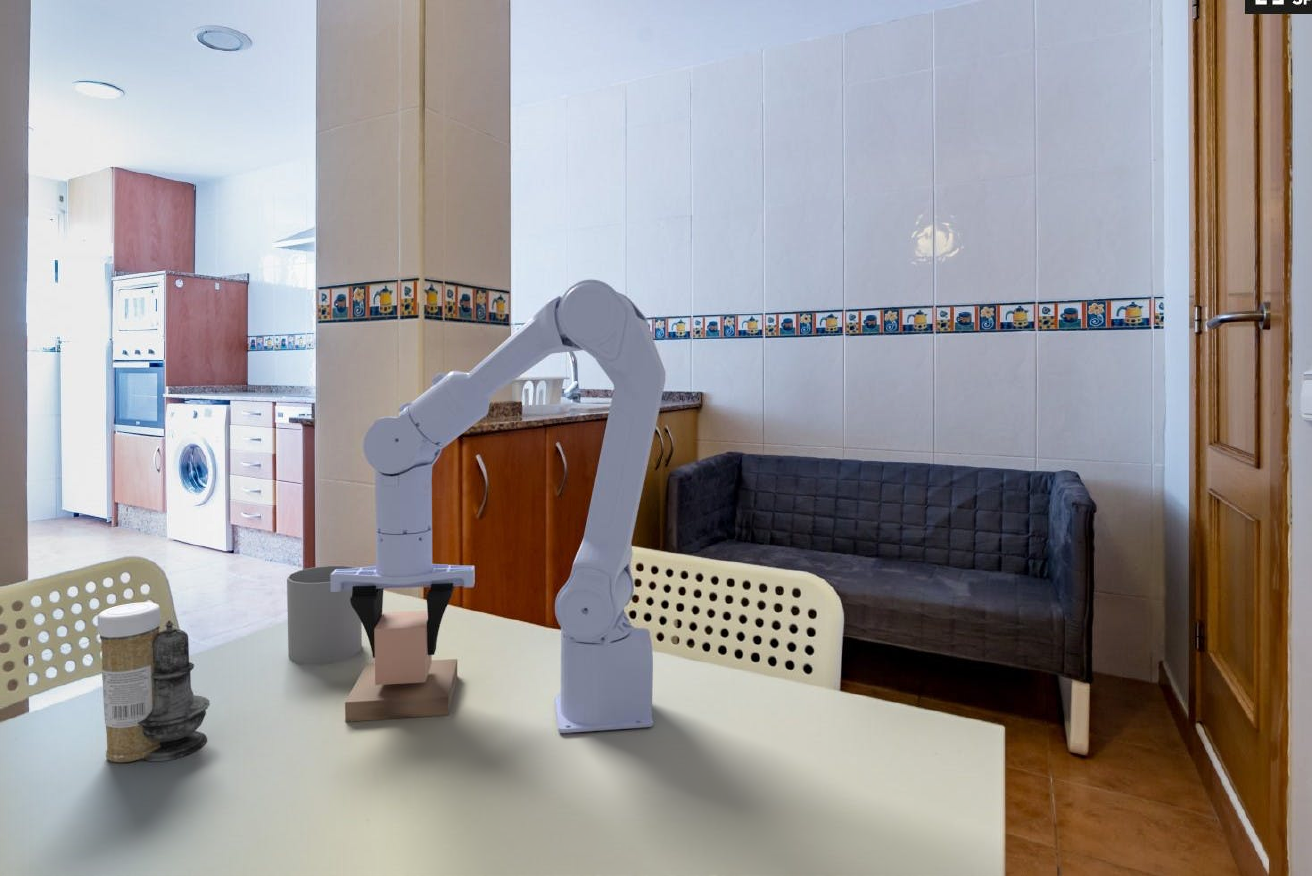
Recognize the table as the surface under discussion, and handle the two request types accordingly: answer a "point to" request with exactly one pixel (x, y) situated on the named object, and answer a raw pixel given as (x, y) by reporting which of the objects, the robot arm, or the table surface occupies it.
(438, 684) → the board
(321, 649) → the cup
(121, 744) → the sprinkles bottle
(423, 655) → the block
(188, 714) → the salt shaker
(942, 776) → the table surface
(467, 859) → the table surface
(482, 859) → the table surface
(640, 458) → the robot arm
